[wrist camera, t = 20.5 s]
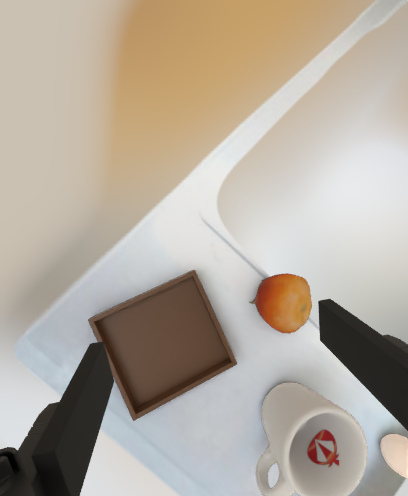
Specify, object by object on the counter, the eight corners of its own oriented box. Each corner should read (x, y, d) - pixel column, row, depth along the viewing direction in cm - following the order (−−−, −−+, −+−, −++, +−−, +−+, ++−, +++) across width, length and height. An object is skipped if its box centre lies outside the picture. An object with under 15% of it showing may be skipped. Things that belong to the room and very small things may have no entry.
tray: (135, 411, 36) (133, 421, 34) (92, 316, 36) (87, 319, 34) (232, 358, 39) (237, 364, 37) (193, 270, 39) (195, 270, 37)
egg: (398, 425, 42) (442, 454, 36) (398, 457, 42) (442, 492, 35) (371, 426, 42) (410, 455, 35) (371, 458, 41) (411, 495, 35)
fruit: (250, 260, 39) (299, 270, 33) (279, 275, 44) (327, 287, 38) (232, 313, 38) (279, 334, 32) (264, 322, 43) (310, 342, 37)
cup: (271, 480, 39) (310, 556, 28) (221, 433, 38) (242, 494, 28) (330, 403, 41) (385, 448, 31) (283, 357, 40) (324, 388, 30)
